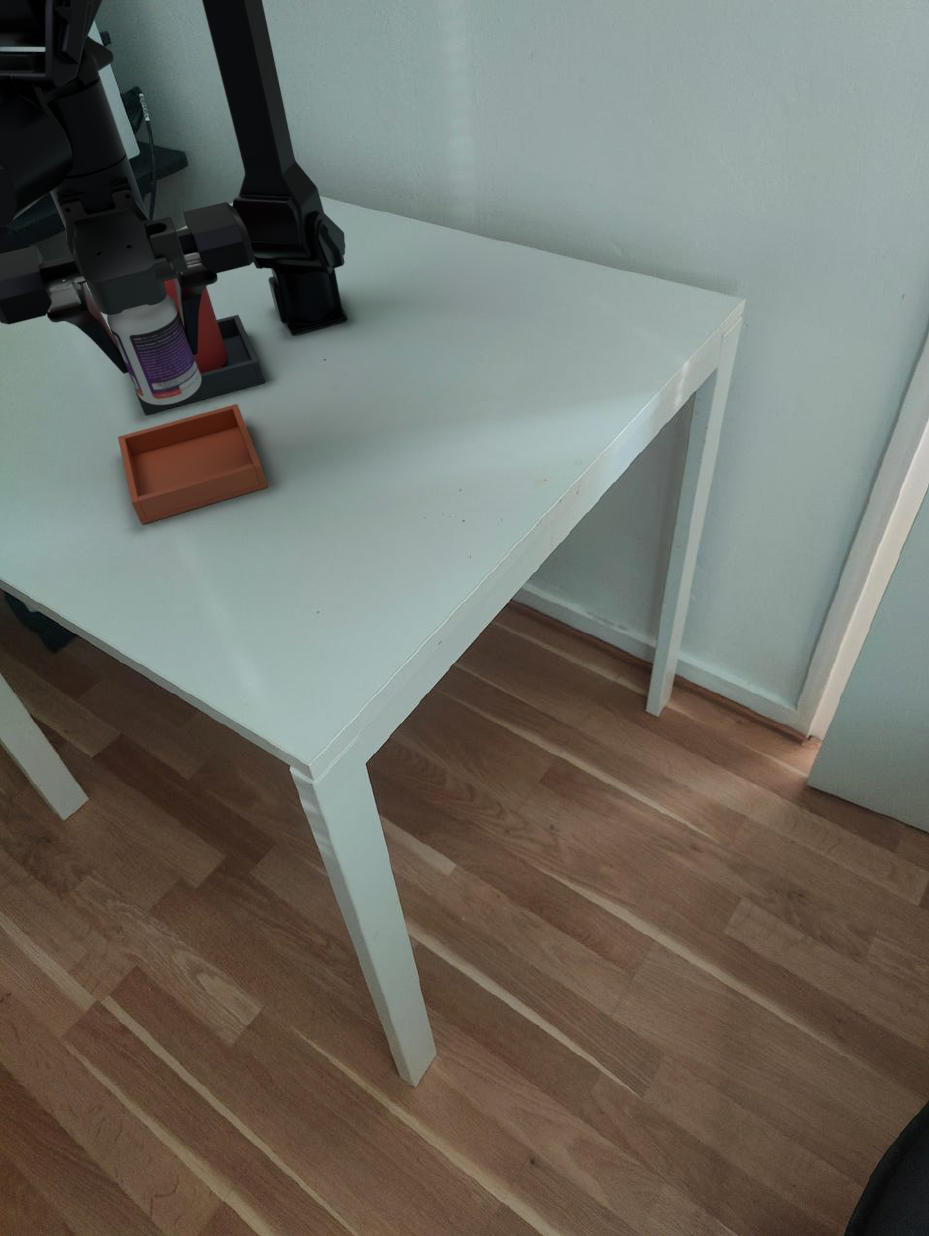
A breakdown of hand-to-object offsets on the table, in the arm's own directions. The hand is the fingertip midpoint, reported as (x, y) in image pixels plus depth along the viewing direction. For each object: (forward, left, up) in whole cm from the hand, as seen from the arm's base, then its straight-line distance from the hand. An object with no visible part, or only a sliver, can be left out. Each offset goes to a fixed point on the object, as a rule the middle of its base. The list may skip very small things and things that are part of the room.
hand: (159, 361), depth 71 cm
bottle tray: (+1, 0, -11) cm, 11 cm away
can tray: (-2, -16, -11) cm, 20 cm away
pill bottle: (0, 0, -3) cm, 3 cm away
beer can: (-3, -17, -11) cm, 20 cm away
